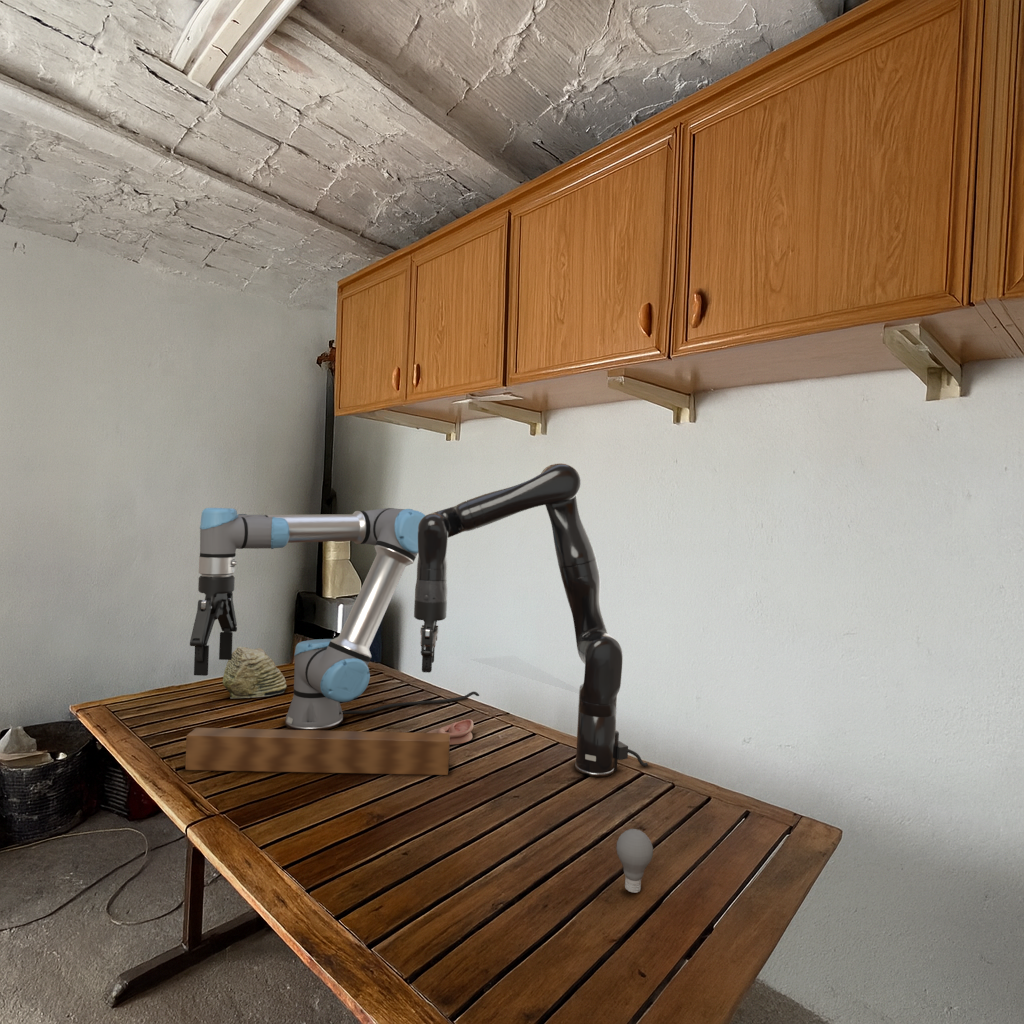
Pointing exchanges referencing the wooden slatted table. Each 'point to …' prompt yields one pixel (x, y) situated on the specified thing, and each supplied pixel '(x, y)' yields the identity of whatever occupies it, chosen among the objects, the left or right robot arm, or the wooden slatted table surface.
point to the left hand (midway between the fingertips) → (213, 667)
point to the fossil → (252, 674)
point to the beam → (317, 751)
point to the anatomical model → (457, 731)
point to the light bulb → (634, 857)
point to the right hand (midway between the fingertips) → (428, 667)
